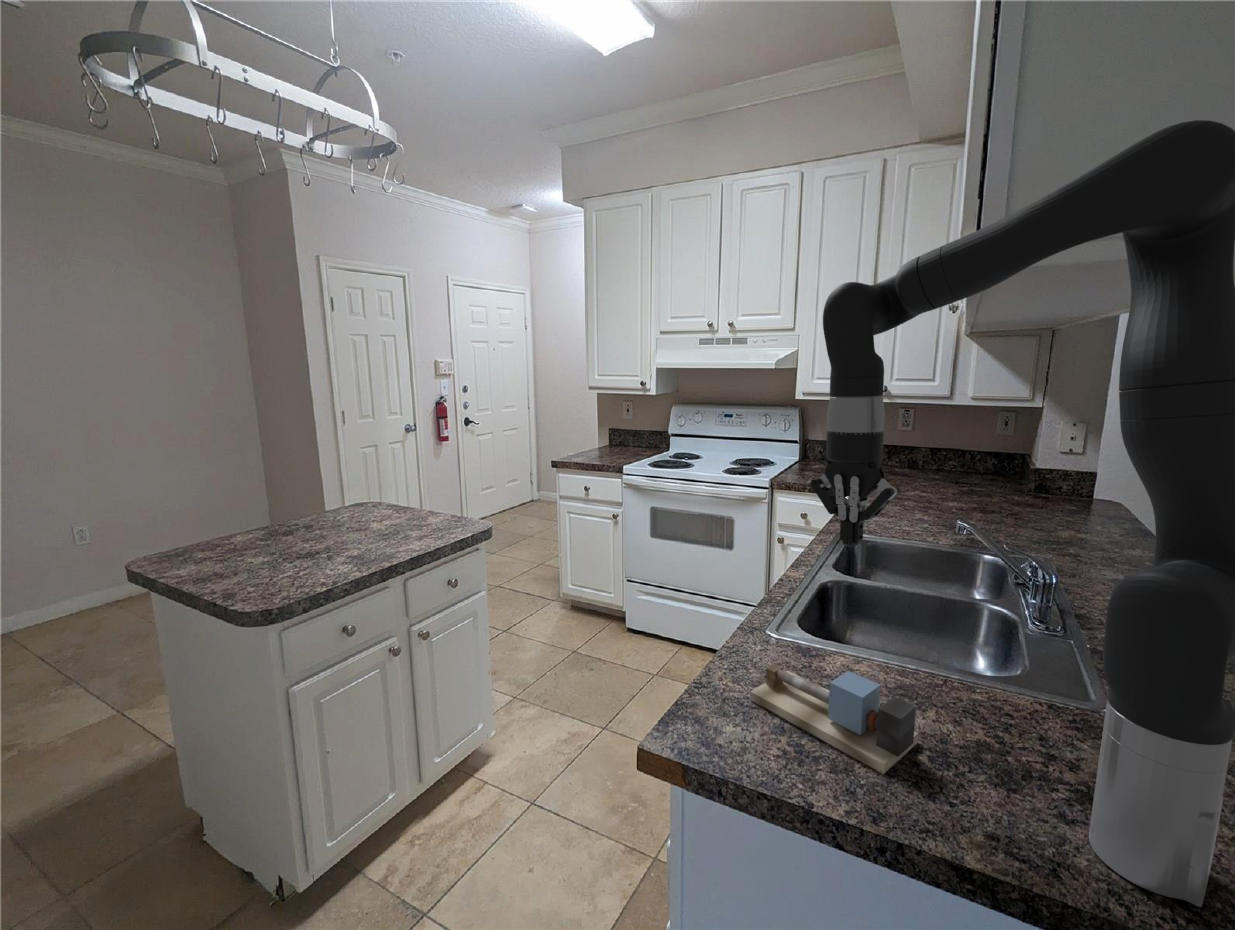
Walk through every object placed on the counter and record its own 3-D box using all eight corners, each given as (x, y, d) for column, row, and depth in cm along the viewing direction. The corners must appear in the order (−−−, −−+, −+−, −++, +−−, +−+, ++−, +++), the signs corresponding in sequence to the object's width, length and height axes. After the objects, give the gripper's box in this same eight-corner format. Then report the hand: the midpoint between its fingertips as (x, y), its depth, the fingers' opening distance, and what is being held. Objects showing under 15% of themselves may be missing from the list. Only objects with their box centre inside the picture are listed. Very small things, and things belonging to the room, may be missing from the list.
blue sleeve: (878, 721, 81) (880, 684, 80) (860, 735, 78) (862, 697, 77) (846, 705, 85) (848, 670, 84) (828, 718, 82) (829, 682, 81)
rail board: (921, 744, 78) (925, 698, 77) (887, 776, 72) (890, 727, 71) (786, 678, 96) (788, 640, 95) (750, 699, 90) (751, 659, 89)
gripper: (914, 428, 76) (908, 549, 79) (826, 424, 86) (823, 531, 89) (889, 432, 72) (883, 560, 74) (799, 428, 82) (797, 540, 84)
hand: (850, 544), depth 81 cm, fingers closed
